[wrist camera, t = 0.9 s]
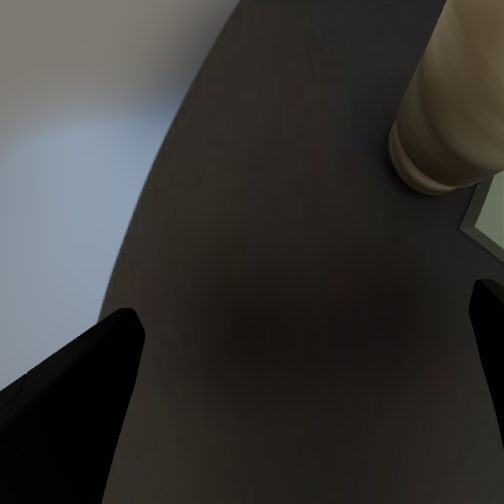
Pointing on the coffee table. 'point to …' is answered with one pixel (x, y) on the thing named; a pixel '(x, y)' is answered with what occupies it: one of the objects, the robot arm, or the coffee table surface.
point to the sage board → (487, 215)
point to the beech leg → (454, 103)
